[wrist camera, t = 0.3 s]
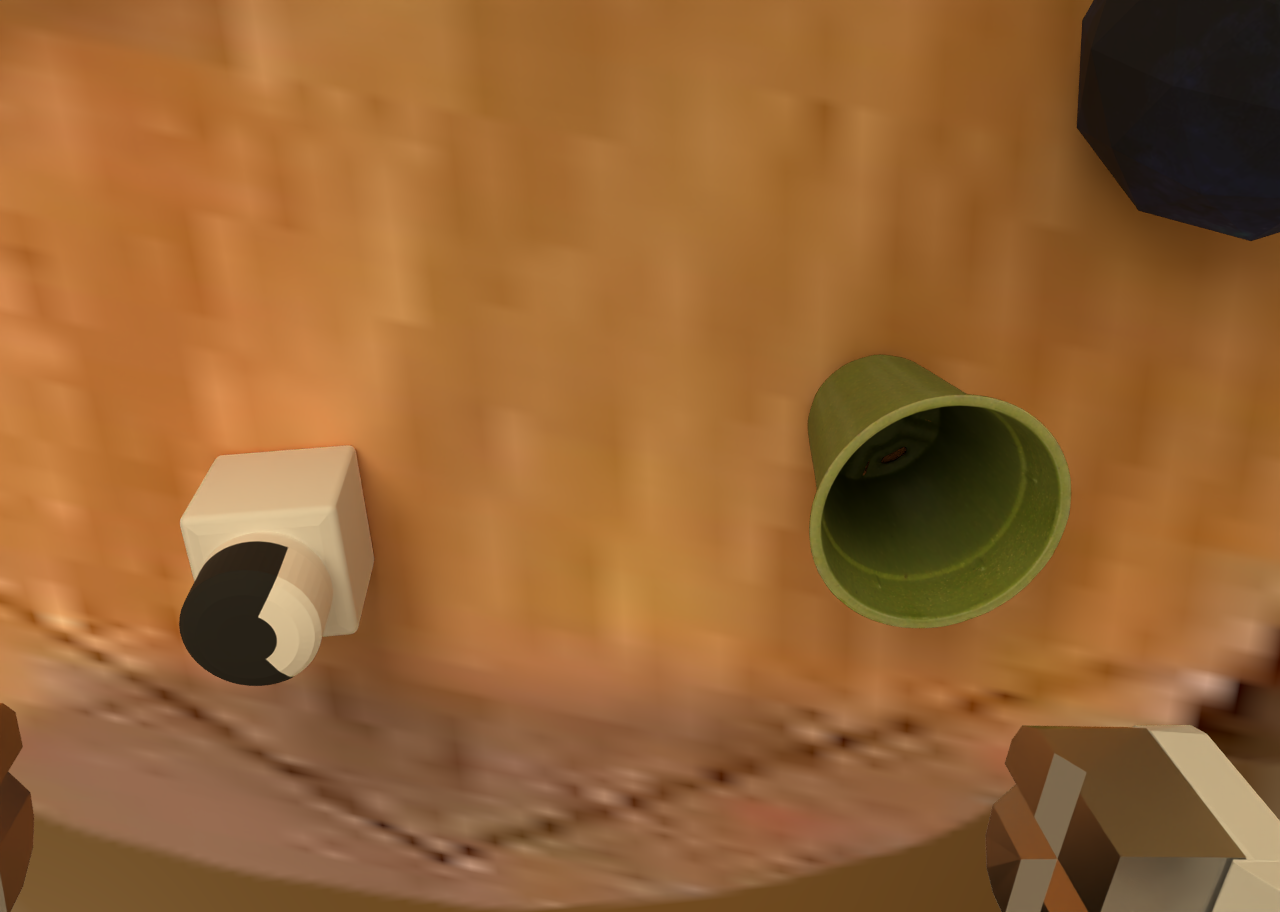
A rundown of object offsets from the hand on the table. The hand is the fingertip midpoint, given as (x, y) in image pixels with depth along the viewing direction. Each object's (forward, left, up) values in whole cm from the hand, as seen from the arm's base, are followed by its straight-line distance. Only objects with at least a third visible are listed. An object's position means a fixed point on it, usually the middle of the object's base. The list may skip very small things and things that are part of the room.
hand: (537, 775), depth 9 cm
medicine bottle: (+23, -11, -47) cm, 54 cm away
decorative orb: (-4, +30, -47) cm, 56 cm away
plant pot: (+16, +19, -47) cm, 53 cm away
